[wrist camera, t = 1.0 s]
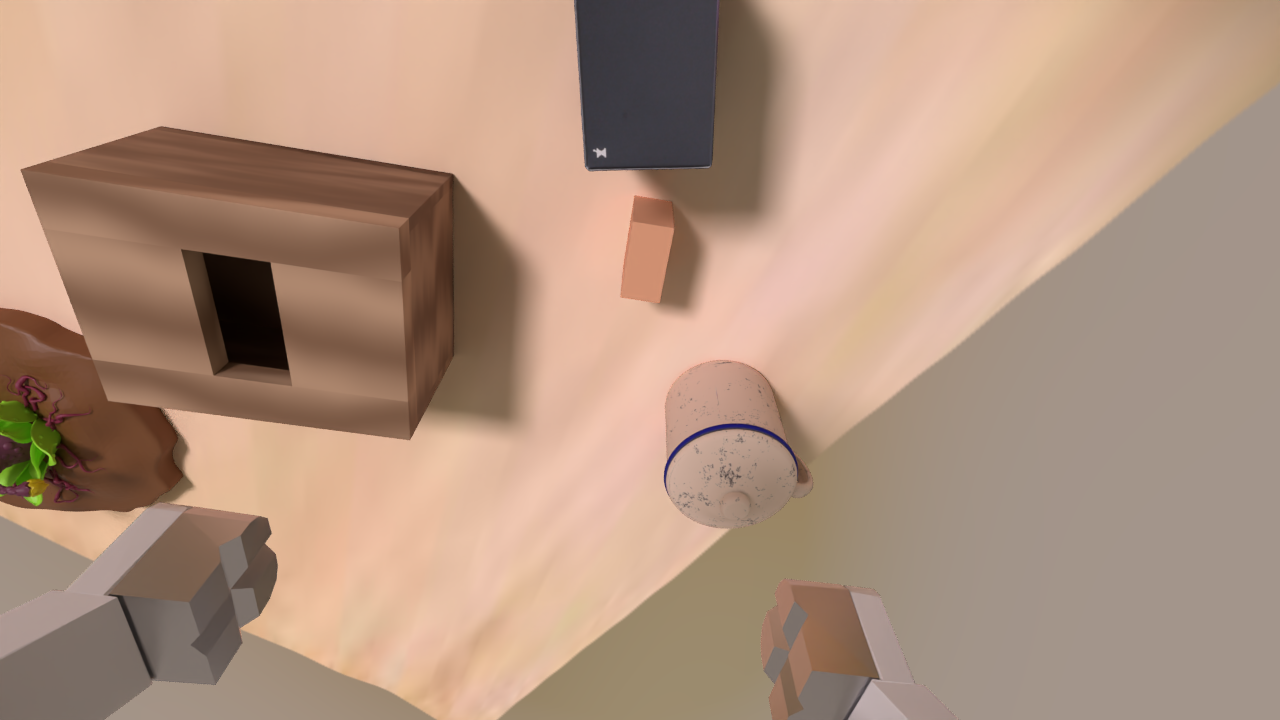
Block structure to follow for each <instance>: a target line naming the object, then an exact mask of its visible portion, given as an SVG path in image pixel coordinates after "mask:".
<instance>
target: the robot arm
mask: <svg viewBox="0 0 1280 720" xmlns="http://www.w3.org/2000/svg"><path fill="white" fill-rule="evenodd" d="M271 534H272V533H271V529H270V525H269V522H268V518H265V517H261V516H255V515H248V514H241V513H235V512H228V511H221V510H214V509H207V508H200V507H191V506H184V505H177V504H169V503H162V502H159V503H157V504H155V505H153V506H151V507H149V508H147V509H146V510H145V511H144V512H143V513H142V514H141V515H140V516H139V517H138V518H137V519H136V520H135V521H134V522H133V523H132V524H131V525H130V526H129V527H128V528H127V529H126V530H125V531H124V532H123V533H122V534H121V535H120V536H119V537H118V538H117V539H116V540H115V541H114V542H113V543H112V544H111V545H110V546H109V547H108V548H107V549H106V550H105V551H104V552H103V553H102V554H101V555H100V556H99V557H98V558H97V559H96V560H95V561H94V562H93V563H92V564H91V565H90V566H89V567H88V568H87V569H86V570H85V571H84V572H83V573H82V574H81V575H80V576H79V577H78V578H77V579H76V580H75V581H74V582H73V583H72V584H71V585H70V586H69V587H68V588H67V589H66V590H65V591H62V590H52V591H50V592H48V593H45V594H43V595H41V596H39V597H37V598H35V599H33V600H31V601H29V602H27V603H25V604H22V605H20V606H18V607H16V608H14V609H12V610H10V611H8V612H6V613H3V614H1V615H0V720H104V719H106V718H107V717H108V716H110V715H111V714H112V713H114V712H115V711H117V710H118V709H119V708H121V707H122V706H123V705H125V704H126V703H127V702H129V701H130V700H131V699H133V698H134V697H135V696H137V695H138V694H139V693H141V692H142V691H144V690H145V689H146V688H148V687H149V686H150V685H152V680H155V681H169V682H183V683H197V684H211V685H216V683H217V682H218V680H219V679H220V677H221V675H222V674H223V672H224V671H225V669H226V668H227V666H228V664H229V663H230V661H231V660H232V658H233V657H234V655H235V653H236V652H237V650H238V649H239V647H240V645H241V644H242V636H241V630H240V628H241V627H243V626H244V625H246V624H247V623H249V622H250V621H252V620H254V619H255V618H257V617H258V616H260V614H261V612H262V611H263V609H264V607H265V606H266V604H267V602H268V601H269V599H270V597H271V594H272V591H273V588H274V585H275V582H276V579H277V568H278V564H277V558H276V554H275V553H274V552H273V551H272V550H271V549H270V548H269V547H268V546H267V545H266V544H265V542H266V541H267V540H268V538H269V537H270V535H271ZM775 597H776V602H777V606H775V607H773V608H772V609H770V610H768V611H767V614H766V616H765V619H764V622H763V625H762V634H761V657H762V663H763V669H764V672H765V673H766V674H767V675H768V677H769V678H770V679H771V680H772V682H773V683H774V684H775V685H774V687H773V689H772V691H771V694H770V696H769V703H770V709H771V714H772V719H773V720H959V719H958V718H957V717H956V716H955V715H954V714H953V713H952V712H951V711H950V710H949V709H948V708H947V707H946V706H945V705H944V704H943V703H942V702H941V701H940V700H939V699H938V698H937V697H936V696H935V695H934V694H933V693H932V692H931V691H930V690H929V689H928V688H927V687H926V686H925V685H920V684H915V681H914V679H913V676H912V674H911V672H910V669H909V667H908V664H907V662H906V659H905V657H904V655H903V652H902V649H901V647H900V645H899V642H898V639H897V637H896V634H895V632H894V630H893V627H892V625H891V622H890V620H889V618H888V615H887V612H886V610H885V608H884V605H883V602H882V600H881V597H880V595H879V594H878V593H877V592H876V590H875V589H871V588H862V587H854V586H842V585H839V584H831V583H822V582H812V581H803V580H793V579H783V580H782V581H781V582H780V583H779V585H778V587H777V589H776V592H775Z"/></svg>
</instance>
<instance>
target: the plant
mask: <svg viewBox="0 0 1280 720" xmlns="http://www.w3.org/2000/svg"><path fill="white" fill-rule="evenodd" d="M177 440H178V437H177V434H176V432H175V430H174V429H173V427H172V426H171V424H170V423H169V422H168V421H167V419H166V418H165V416H164V415H163V413H162V412H161V410H160V409H159V407H152V406H144V405H136V404H129V403H121V402H113V401H108V399H107V396H106V394H105V391H104V389H103V386H102V383H101V381H100V378H99V375H98V373H97V370H96V367H95V365H94V362H93V360H92V357H91V354H90V352H89V349H88V346H87V344H86V341H85V338H84V336H83V335H80V334H77V333H75V332H72V331H70V330H68V329H66V328H64V327H62V326H61V325H59V324H57V323H56V322H54V321H52V320H49V319H47V318H44V317H41V316H38V315H35V314H32V313H28V312H24V311H20V310H14V309H5V308H0V501H2V502H4V503H7V504H10V505H13V506H16V507H21V508H29V509H50V510H60V511H75V512H76V511H97V510H112V511H119V512H129V511H132V510H133V509H135V508H138V507H143V506H147V505H150V504H152V503H153V502H154V501H156V499H157V498H158V497H159V496H160V495H162V494H164V493H166V492H168V491H170V490H171V489H172V488H173V487H174V486H175V485H176V484H177V483H178V481H179V480H180V479H181V478H182V477H183V474H182V472H181V471H180V470H179V469H178V467H177V466H176V465H175V463H174V460H173V455H172V453H173V448H174V445H175V444H176V442H177Z"/></svg>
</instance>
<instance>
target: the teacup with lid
mask: <svg viewBox="0 0 1280 720" xmlns="http://www.w3.org/2000/svg"><path fill="white" fill-rule="evenodd" d="M665 418H666V447H667V463H666V466H665V471H664V483H665V488H666V491H667V493H668V495H669V497H670V499H671V501H672V502H673V504H674V505H675V506H676V507H677V508H678V509H679V510H680V511H681V512H682V513H683V514H684V515H685V516H687V517H688V518H690V519H692V520H694V521H696V522H698V523H700V524H703V525H707V526H711V527H716V528H740V527H746V526H750V525H753V524H756V523H759V522H762V521H764V520H766V519H768V518H769V517H771V516H773V515H774V514H776V513H777V512H778V511H779V510H781V509H782V508H783V507H784V506H785V504H786V503H787V502H788V501H789V499H790V497H794V498H802V497H804V496H806V495H807V494H808V493H809V492H810V491H811V490H812V488H813V478H812V475H811V473H810V471H809V469H808V468H807V466H806V465H805V463H804V462H803V461H802V459H801V458H800V457H799V456H798V455H797V454H796V453H795V452H794V451H793V450H792V449H791V448H790V447H789V445H788V443H787V439H786V436H785V432H784V429H783V426H782V422H781V419H780V415H779V412H778V409H777V405H776V402H775V399H774V395H773V392H772V389H771V387H770V385H769V383H768V382H767V380H766V379H765V378H764V377H763V376H762V375H761V374H760V373H759V372H758V371H756V370H755V369H753V368H751V367H749V366H747V365H745V364H742V363H739V362H734V361H725V360H720V361H711V362H706V363H703V364H700V365H697V366H695V367H693V368H691V369H689V370H687V371H686V372H685V373H683V374H682V375H681V376H680V377H679V378H678V379H677V380H676V381H675V382H674V384H673V385H672V386H671V388H670V390H669V392H668V395H667V398H666V403H665Z"/></svg>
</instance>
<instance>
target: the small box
mask: <svg viewBox="0 0 1280 720" xmlns="http://www.w3.org/2000/svg"><path fill="white" fill-rule="evenodd" d="M719 1H720V0H574V7H575V21H576V39H577V52H578V68H579V80H580V99H581V116H582V130H583V142H584V160H585V167H586V169H587V170H589V171H608V170H649V169H655V170H658V169H693V168H694V169H702V168H709V167H711V165H712V157H713V136H714V112H715V90H716V70H717V50H718V26H719Z"/></svg>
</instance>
